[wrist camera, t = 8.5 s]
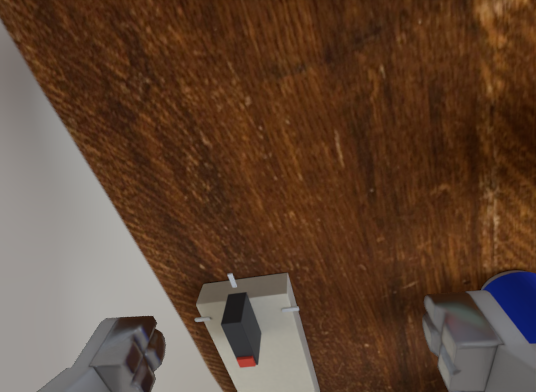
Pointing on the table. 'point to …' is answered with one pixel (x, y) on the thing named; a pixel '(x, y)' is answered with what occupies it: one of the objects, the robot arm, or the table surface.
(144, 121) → the table surface
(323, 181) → the table surface
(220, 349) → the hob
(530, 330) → the beverage can
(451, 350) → the robot arm
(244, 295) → the dark grey red-tipped block
